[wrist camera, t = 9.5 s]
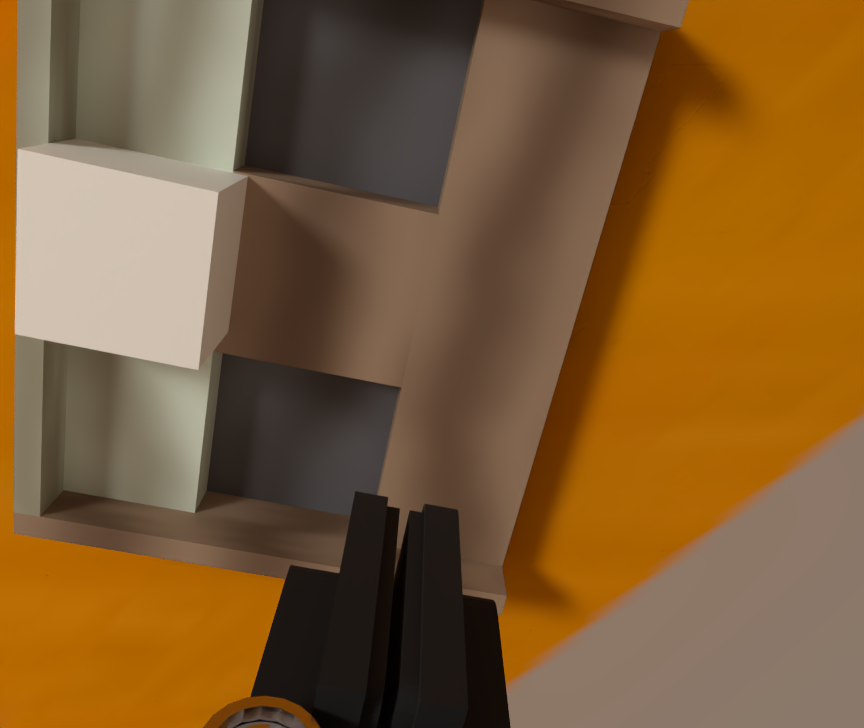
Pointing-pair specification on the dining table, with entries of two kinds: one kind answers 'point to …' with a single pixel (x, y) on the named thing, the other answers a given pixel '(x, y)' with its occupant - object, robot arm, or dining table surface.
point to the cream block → (125, 251)
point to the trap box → (333, 264)
